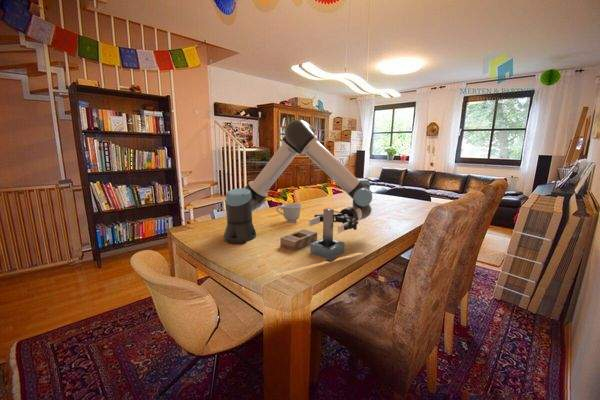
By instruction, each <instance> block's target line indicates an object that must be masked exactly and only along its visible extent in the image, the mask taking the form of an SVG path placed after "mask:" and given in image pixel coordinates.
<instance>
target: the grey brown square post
mask: <svg viewBox="0 0 600 400" xmlns="http://www.w3.org/2000/svg"><path fill="white" fill-rule="evenodd" d="M334 211H335V210H334V208H324V209H323V213H322V214H323V222H322V224H323V225H322V226H323V227H322V238H323V245H324V246H328V247H331V246H333V240H334V222H333V217H334V214H335V212H334ZM334 218H335V217H334Z"/></svg>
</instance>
